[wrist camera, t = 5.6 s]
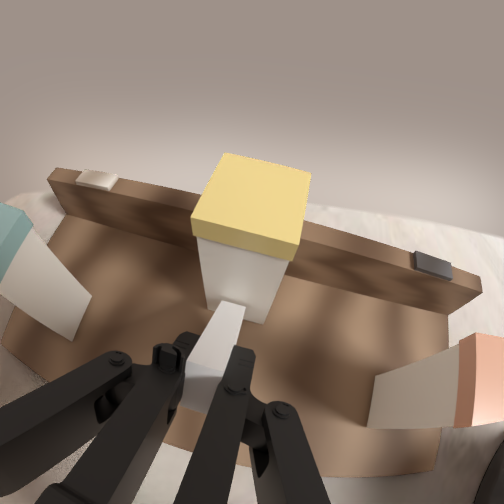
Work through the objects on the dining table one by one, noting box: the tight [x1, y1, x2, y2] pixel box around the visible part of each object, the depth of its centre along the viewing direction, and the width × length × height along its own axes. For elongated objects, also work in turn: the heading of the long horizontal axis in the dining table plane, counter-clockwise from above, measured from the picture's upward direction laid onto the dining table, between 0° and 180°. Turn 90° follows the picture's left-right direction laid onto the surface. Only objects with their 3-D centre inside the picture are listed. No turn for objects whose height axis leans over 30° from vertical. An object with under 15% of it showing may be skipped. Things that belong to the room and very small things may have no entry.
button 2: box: [0, 202, 92, 341], centre depth 13 cm, size 4×4×10 cm
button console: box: [0, 168, 483, 477], centre depth 16 cm, size 38×16×6 cm, turn 76°
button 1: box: [366, 333, 504, 429], centre depth 12 cm, size 4×4×10 cm
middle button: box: [190, 153, 311, 324], centre depth 16 cm, size 4×4×10 cm
